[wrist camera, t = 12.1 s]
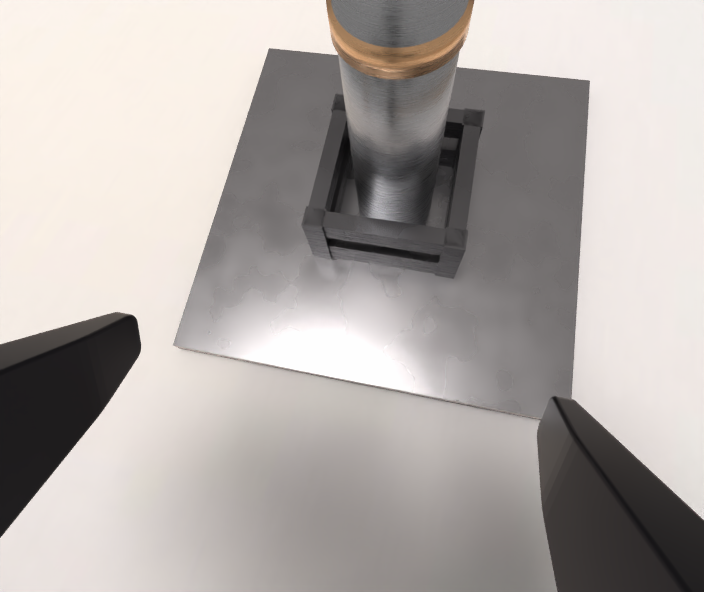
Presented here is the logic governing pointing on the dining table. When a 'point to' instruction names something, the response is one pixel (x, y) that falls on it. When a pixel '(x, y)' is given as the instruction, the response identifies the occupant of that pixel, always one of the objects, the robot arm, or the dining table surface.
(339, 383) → the dining table surface
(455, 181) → the collar stand
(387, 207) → the grey metal cylinder
